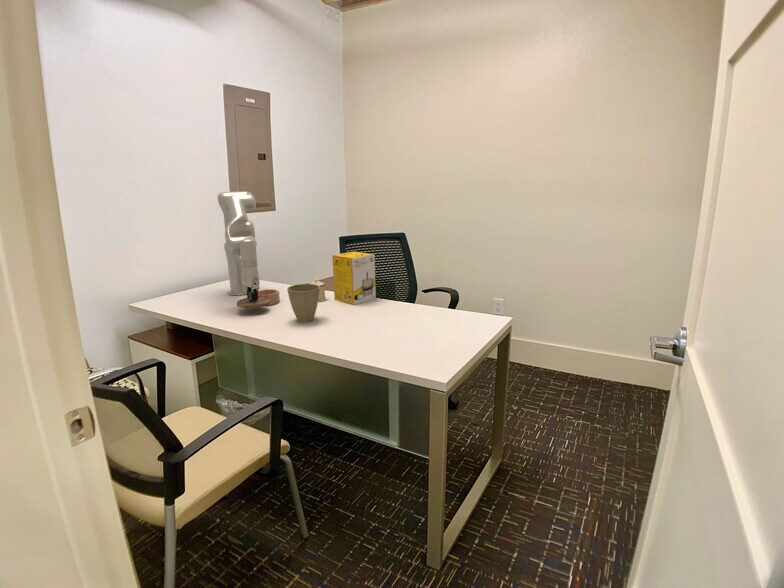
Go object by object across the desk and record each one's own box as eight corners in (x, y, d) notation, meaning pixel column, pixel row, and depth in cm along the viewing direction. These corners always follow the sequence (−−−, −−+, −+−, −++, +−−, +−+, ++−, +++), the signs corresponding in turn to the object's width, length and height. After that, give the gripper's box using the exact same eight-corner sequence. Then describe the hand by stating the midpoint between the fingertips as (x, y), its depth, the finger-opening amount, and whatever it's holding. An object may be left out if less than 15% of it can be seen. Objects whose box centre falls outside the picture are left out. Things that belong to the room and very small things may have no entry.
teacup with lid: (329, 299, 244) (328, 278, 241) (316, 302, 237) (315, 281, 234) (314, 296, 251) (313, 276, 248) (302, 299, 244) (300, 279, 242)
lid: (231, 303, 223) (229, 291, 221) (259, 297, 234) (258, 286, 232) (246, 310, 212) (244, 298, 210) (275, 303, 223) (274, 291, 221)
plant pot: (286, 325, 202) (283, 291, 198) (293, 315, 216) (291, 283, 212) (318, 324, 201) (316, 291, 197) (323, 315, 216) (322, 283, 212)
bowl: (251, 303, 239) (249, 292, 237) (271, 298, 247) (270, 288, 246) (262, 307, 230) (261, 296, 229) (283, 302, 239) (282, 291, 237)
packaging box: (356, 294, 254) (354, 251, 248) (375, 299, 243) (374, 254, 237) (334, 299, 243) (332, 255, 236) (353, 305, 232) (351, 258, 225)
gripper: (234, 262, 220) (238, 297, 225) (250, 267, 209) (254, 304, 214) (248, 260, 225) (251, 294, 230) (264, 264, 214) (268, 300, 219)
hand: (252, 298), depth 222 cm, fingers closed on lid, 4 cm apart
